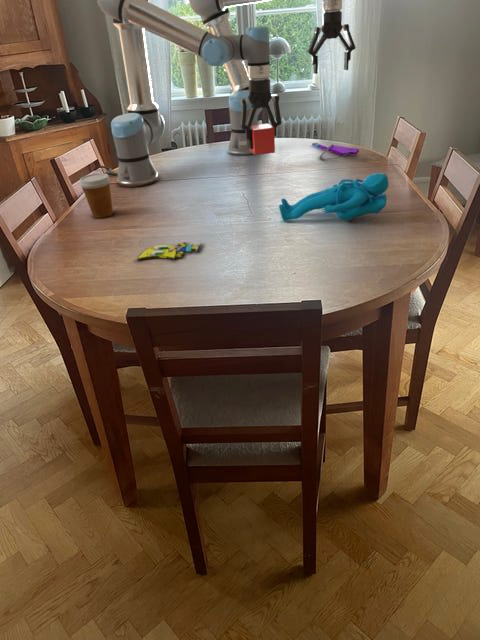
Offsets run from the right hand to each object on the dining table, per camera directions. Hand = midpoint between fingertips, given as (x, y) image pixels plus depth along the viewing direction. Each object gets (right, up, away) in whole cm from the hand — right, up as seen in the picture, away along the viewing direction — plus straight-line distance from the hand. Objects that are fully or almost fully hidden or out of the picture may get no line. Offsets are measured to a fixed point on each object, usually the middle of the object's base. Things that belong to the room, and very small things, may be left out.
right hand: (330, 71), depth 200 cm
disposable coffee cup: (-82, -70, -45) cm, 117 cm away
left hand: (-30, -39, -22) cm, 54 cm away
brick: (-30, -41, -21) cm, 55 cm away
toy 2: (-12, -75, -62) cm, 98 cm away
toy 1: (-56, -86, -73) cm, 126 cm away
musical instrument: (-1, -36, -4) cm, 36 cm away
